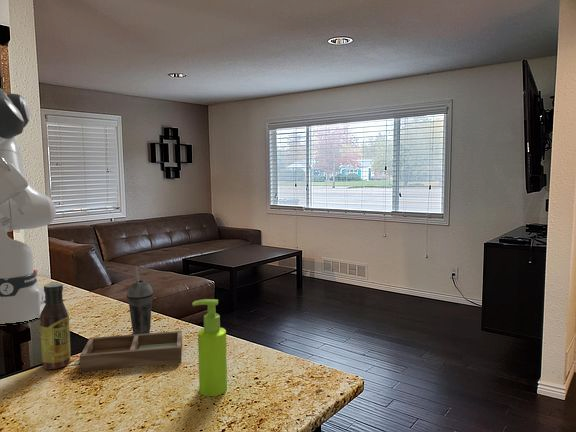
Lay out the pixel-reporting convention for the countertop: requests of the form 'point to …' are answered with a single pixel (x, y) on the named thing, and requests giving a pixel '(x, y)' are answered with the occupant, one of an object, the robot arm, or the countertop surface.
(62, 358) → the sauce bottle
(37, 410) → the countertop surface
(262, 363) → the countertop surface
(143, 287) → the beverage cup
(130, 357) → the caddy
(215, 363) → the soap dispenser
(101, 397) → the countertop surface
